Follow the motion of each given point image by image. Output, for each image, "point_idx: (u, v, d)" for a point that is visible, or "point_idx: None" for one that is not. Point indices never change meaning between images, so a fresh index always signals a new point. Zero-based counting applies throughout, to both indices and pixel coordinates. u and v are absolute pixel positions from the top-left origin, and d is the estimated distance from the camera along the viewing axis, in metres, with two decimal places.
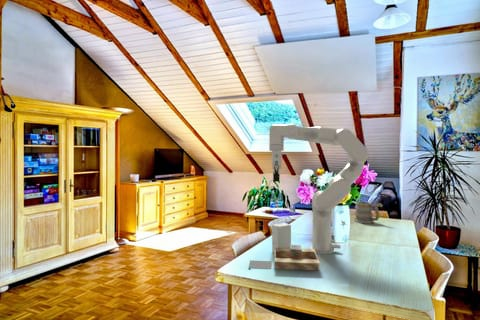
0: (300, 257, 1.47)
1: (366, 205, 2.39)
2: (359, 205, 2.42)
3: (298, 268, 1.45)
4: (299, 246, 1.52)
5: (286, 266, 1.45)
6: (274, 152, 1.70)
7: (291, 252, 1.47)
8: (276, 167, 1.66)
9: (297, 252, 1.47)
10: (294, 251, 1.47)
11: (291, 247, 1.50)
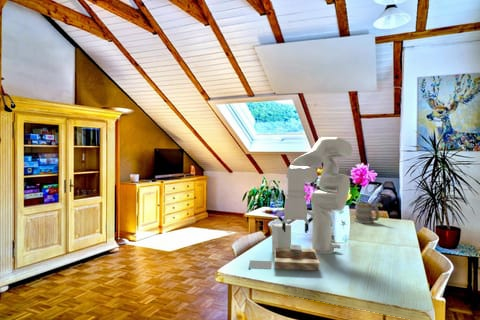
0: (300, 257, 1.47)
1: (366, 205, 2.39)
2: (359, 205, 2.42)
3: (298, 268, 1.45)
4: (299, 246, 1.52)
5: (286, 266, 1.45)
6: (305, 199, 1.48)
7: (291, 252, 1.47)
8: None
9: (297, 252, 1.47)
10: (294, 251, 1.47)
11: (291, 247, 1.50)
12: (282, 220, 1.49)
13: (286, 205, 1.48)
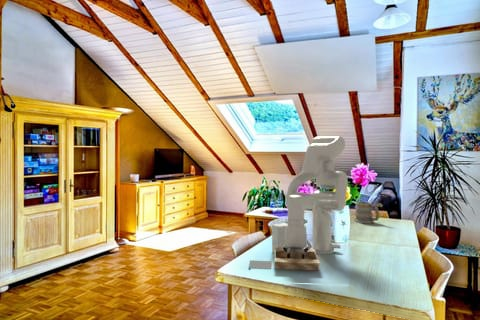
0: (300, 257, 1.47)
1: (366, 205, 2.39)
2: (359, 205, 2.41)
3: (298, 268, 1.45)
4: None
5: (286, 266, 1.45)
6: (305, 228, 1.49)
7: (291, 252, 1.47)
8: None
9: (297, 252, 1.47)
10: (294, 251, 1.47)
11: None
12: (286, 251, 1.50)
13: (286, 233, 1.49)
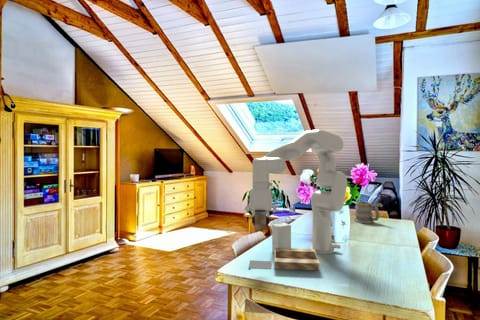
0: (264, 219, 1.46)
1: (366, 205, 2.39)
2: (359, 205, 2.41)
3: (298, 268, 1.45)
4: None
5: (286, 266, 1.45)
6: (270, 190, 1.48)
7: (255, 215, 1.46)
8: (275, 210, 1.49)
9: (261, 214, 1.46)
10: (258, 213, 1.46)
11: None
12: (251, 214, 1.49)
13: (251, 196, 1.48)
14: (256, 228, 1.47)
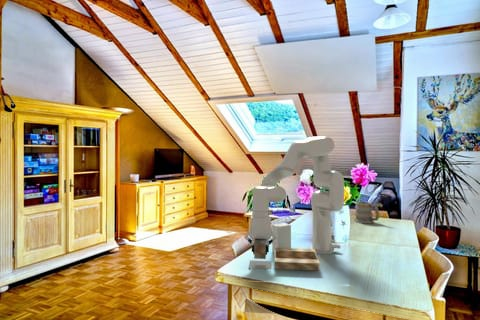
0: (264, 248, 1.46)
1: (366, 205, 2.39)
2: (359, 205, 2.42)
3: (298, 268, 1.45)
4: None
5: (286, 266, 1.45)
6: (270, 219, 1.48)
7: (255, 244, 1.47)
8: None
9: (261, 243, 1.46)
10: (257, 242, 1.47)
11: None
12: (251, 242, 1.50)
13: (250, 225, 1.48)
14: (256, 257, 1.47)
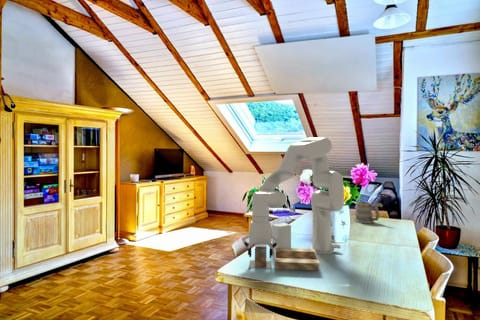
0: (264, 257, 1.47)
1: (366, 205, 2.39)
2: (359, 205, 2.41)
3: (298, 268, 1.45)
4: (264, 246, 1.51)
5: (286, 266, 1.45)
6: (270, 224, 1.48)
7: (255, 252, 1.47)
8: (278, 241, 1.49)
9: (261, 252, 1.47)
10: (258, 251, 1.47)
11: (256, 247, 1.50)
12: (247, 245, 1.50)
13: (250, 230, 1.48)
14: (256, 265, 1.47)
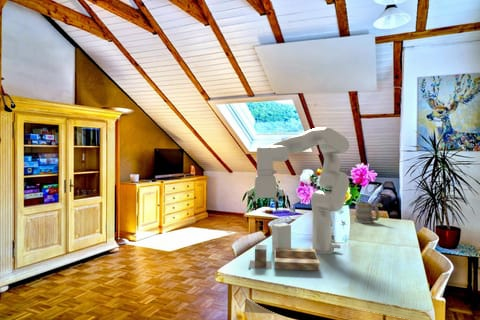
0: (264, 257, 1.47)
1: (366, 205, 2.39)
2: (359, 205, 2.42)
3: (298, 268, 1.45)
4: (264, 246, 1.51)
5: (286, 266, 1.45)
6: (274, 178, 1.51)
7: (255, 252, 1.47)
8: (283, 194, 1.52)
9: (261, 252, 1.47)
10: (258, 251, 1.47)
11: (256, 247, 1.50)
12: (253, 199, 1.52)
13: (256, 184, 1.51)
14: (256, 265, 1.47)
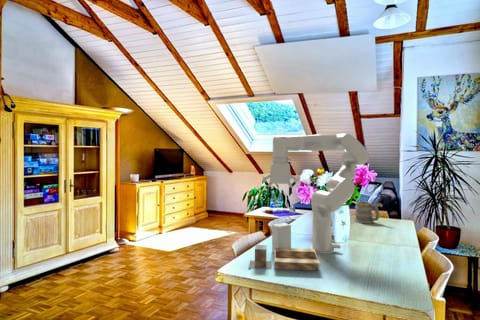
0: (264, 257, 1.47)
1: (366, 205, 2.39)
2: (359, 205, 2.41)
3: (298, 268, 1.45)
4: (264, 246, 1.51)
5: (286, 266, 1.45)
6: (289, 165, 1.62)
7: (255, 252, 1.47)
8: None
9: (261, 252, 1.47)
10: (258, 251, 1.47)
11: (256, 247, 1.50)
12: (268, 184, 1.64)
13: (271, 170, 1.63)
14: (256, 265, 1.47)
